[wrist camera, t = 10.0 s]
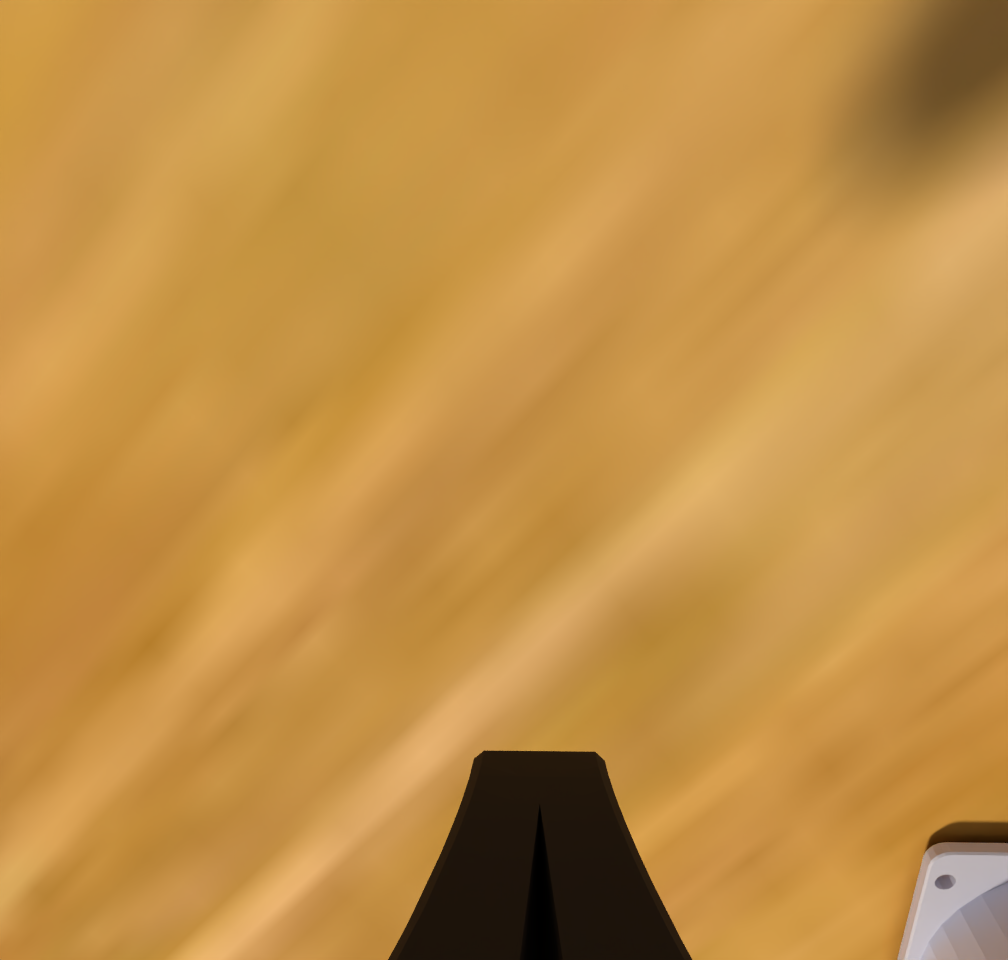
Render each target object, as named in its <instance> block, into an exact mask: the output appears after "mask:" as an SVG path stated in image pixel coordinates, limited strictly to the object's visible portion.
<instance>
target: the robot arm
mask: <svg viewBox="0 0 1008 960" xmlns="http://www.w3.org/2000/svg"><path fill="white" fill-rule="evenodd" d="M941 875H942V876H941ZM388 960H692V958H691V957H690V955H689V953H688V951H687V949H686V947H685V946H684V944H683V942H682V940H681V938H680V936H679V934H678V932H677V930H676V928H675V926H674V924H673V922H672V920H671V918H670V917H669V915H668V913H667V911H666V909H665V907H664V905H663V903H662V901H661V899H660V897H659V895H658V893H657V891H656V889H655V887H654V885H653V883H652V881H651V879H650V877H649V875H648V872H647V870H646V868H645V866H644V864H643V862H642V860H641V857H640V855H639V853H638V851H637V848H636V846H635V844H634V841H633V839H632V837H631V834H630V832H629V830H628V827H627V825H626V823H625V820H624V818H623V815H622V812H621V810H620V807H619V805H618V802H617V799H616V797H615V794H614V791H613V788H612V785H611V782H610V779H609V776H608V772H607V768H606V764H605V761H604V760H603V759H602V758H601V757H600V756H599V755H598V754H597V753H596V752H561V751H483V752H482V753H481V754H479V755H478V756H477V757H476V758H474V761H473V765H472V769H471V774H470V777H469V781H468V784H467V787H466V790H465V793H464V796H463V799H462V802H461V805H460V807H459V810H458V813H457V815H456V818H455V821H454V823H453V825H452V828H451V830H450V833H449V835H448V838H447V840H446V842H445V845H444V847H443V850H442V852H441V854H440V857H439V859H438V861H437V863H436V865H435V867H434V869H433V871H432V874H431V876H430V878H429V880H428V882H427V884H426V886H425V888H424V891H423V893H422V895H421V897H420V899H419V901H418V903H417V905H416V907H415V910H414V912H413V914H412V916H411V918H410V920H409V922H408V924H407V926H406V928H405V930H404V932H403V934H402V935H401V937H400V939H399V941H398V943H397V945H396V946H395V948H394V950H393V952H392V954H391V956H390V957H389V959H388ZM897 960H1008V843H968V842H943V843H937V844H935V845H933V846H931V847H930V848H929V849H928V850H927V851H926V852H925V854H924V856H923V860H922V864H921V867H920V871H919V875H918V879H917V883H916V887H915V891H914V895H913V899H912V903H911V907H910V911H909V915H908V919H907V923H906V927H905V931H904V935H903V939H902V943H901V947H900V951H899V955H898V959H897Z"/></svg>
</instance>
